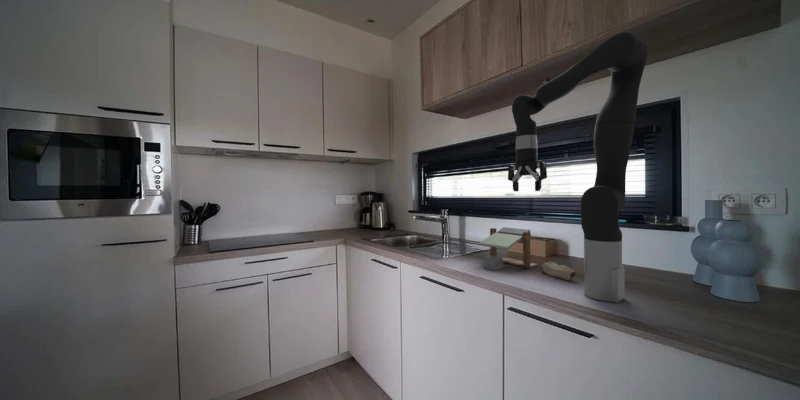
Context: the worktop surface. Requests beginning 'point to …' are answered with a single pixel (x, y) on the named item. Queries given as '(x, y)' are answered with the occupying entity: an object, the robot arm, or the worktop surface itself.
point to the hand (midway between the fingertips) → (526, 191)
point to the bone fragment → (558, 270)
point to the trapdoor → (505, 238)
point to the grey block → (493, 262)
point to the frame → (526, 251)
